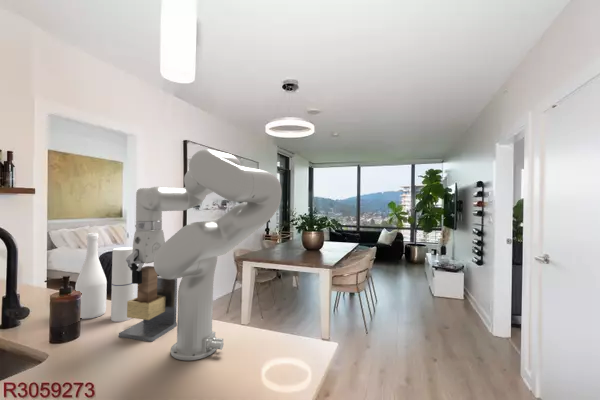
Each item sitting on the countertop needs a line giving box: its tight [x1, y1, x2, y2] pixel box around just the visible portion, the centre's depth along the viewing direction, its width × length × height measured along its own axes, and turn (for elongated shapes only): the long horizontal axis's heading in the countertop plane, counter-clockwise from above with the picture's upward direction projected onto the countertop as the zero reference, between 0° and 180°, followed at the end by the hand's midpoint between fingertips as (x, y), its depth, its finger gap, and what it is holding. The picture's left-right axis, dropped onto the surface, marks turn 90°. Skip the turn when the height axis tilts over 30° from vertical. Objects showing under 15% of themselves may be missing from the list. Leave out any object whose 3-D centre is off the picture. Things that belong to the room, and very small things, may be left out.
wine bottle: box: [74, 232, 108, 320], centre depth 111 cm, size 10×10×30 cm
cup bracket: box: [118, 276, 178, 343], centre depth 98 cm, size 12×12×16 cm
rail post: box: [136, 265, 158, 303], centre depth 97 cm, size 4×4×14 cm
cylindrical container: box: [110, 246, 136, 323], centre depth 109 cm, size 7×7×25 cm
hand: (148, 279), depth 97 cm, fingers open, 9 cm apart
